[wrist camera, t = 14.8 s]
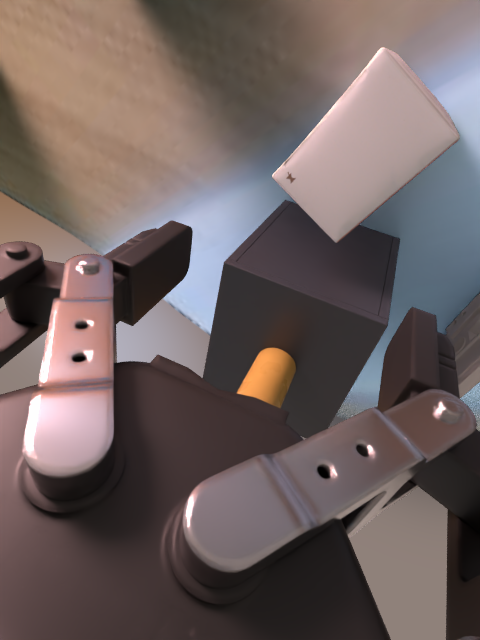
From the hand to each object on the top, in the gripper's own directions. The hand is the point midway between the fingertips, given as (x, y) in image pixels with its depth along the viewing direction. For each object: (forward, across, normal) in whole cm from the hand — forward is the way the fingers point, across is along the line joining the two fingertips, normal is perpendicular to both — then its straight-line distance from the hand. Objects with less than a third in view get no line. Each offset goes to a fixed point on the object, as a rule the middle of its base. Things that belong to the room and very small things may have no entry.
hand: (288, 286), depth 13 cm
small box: (+21, 0, -2) cm, 21 cm away
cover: (+20, 0, +11) cm, 23 cm away
